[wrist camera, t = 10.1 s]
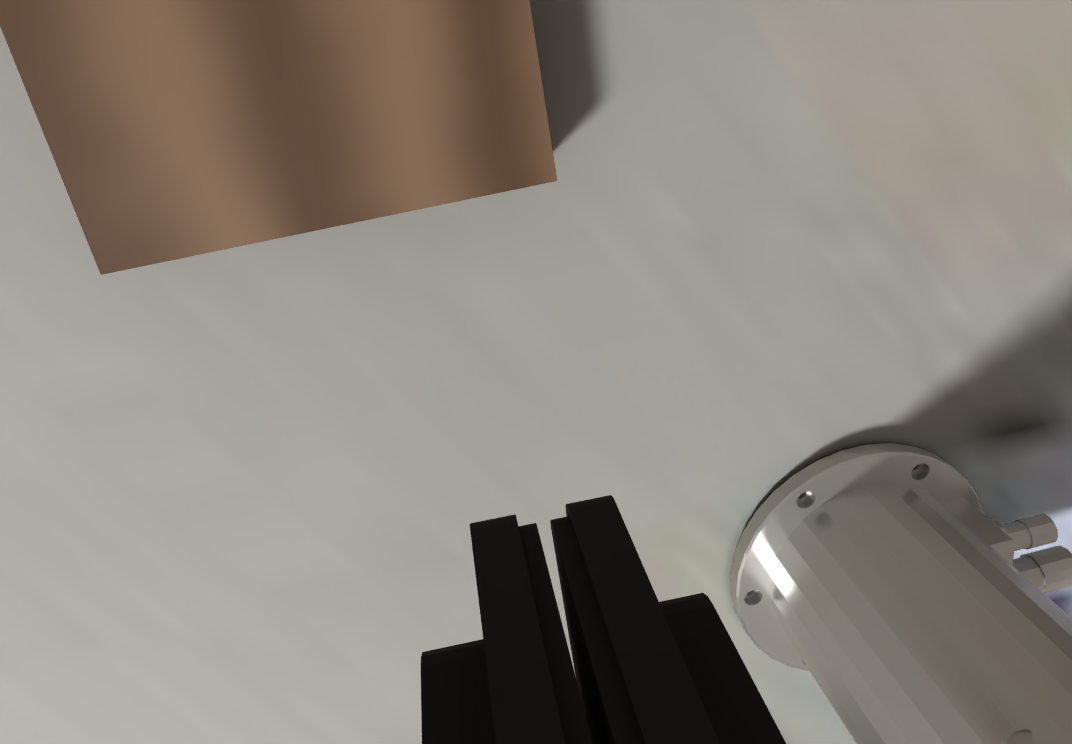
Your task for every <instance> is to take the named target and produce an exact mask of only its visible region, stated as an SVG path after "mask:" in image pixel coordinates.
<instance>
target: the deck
mask: <svg viewBox="0 0 1072 744" xmlns="http://www.w3.org/2000/svg"><path fill="white" fill-rule="evenodd" d="M0 27H1V29H2V32H3V34H4V36H5V39H6V41H7V44H8V46H9V49H10V51H11V54H12V56H13V59H14V61H15V64H16V66H17V69H18V71H19V73H20V76H21V78H22V81H23V83H24V86H25V88H26V91H27V93H28V96H29V98H30V101H31V103H32V106H33V108H34V111H35V113H36V115H37V118H38V120H39V123H40V125H41V128H42V130H43V133H44V135H45V138H46V140H47V143H48V145H49V148H50V150H51V153H52V155H53V157H54V160H55V162H56V165H57V167H58V170H59V172H60V175H61V177H62V180H63V182H64V185H65V187H66V190H67V192H68V195H69V197H70V199H71V202H72V204H73V207H74V209H75V212H76V214H77V217H78V219H79V222H80V224H81V227H82V229H83V232H84V234H85V237H86V239H87V241H88V244H89V246H90V249H91V251H92V254H93V256H94V259H95V261H96V264H97V266H98V269H99V271H100V274H101V275H102V274H107V273H111V272H116V271H121V270H126V269H131V268H136V267H141V266H145V265H150V264H155V263H160V262H165V261H170V260H175V259H179V258H184V257H189V256H194V255H199V254H204V253H209V252H213V251H218V250H223V249H228V248H233V247H238V246H243V245H247V244H252V243H257V242H262V241H267V240H272V239H277V238H281V237H286V236H291V235H296V234H301V233H306V232H311V231H315V230H320V229H325V228H330V227H335V226H340V225H345V224H349V223H354V222H359V221H364V220H369V219H374V218H379V217H383V216H388V215H393V214H398V213H403V212H408V211H413V210H417V209H422V208H427V207H432V206H437V205H442V204H447V203H451V202H456V201H461V200H466V199H471V198H476V197H481V196H485V195H490V194H495V193H500V192H505V191H510V190H515V189H519V188H524V187H529V186H534V185H539V184H544V183H549V182H553V181H557V176H556V170H555V163H554V157H553V150H552V144H551V137H550V131H549V124H548V118H547V111H546V105H545V98H544V92H543V85H542V78H541V72H540V65H539V59H538V52H537V46H536V39H535V33H534V26H533V20H532V13H531V7H530V0H0Z"/></svg>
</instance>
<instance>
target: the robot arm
mask: <svg viewBox="0 0 1072 744" xmlns="http://www.w3.org/2000/svg"><path fill="white" fill-rule="evenodd" d="M566 515H567V517H563V518H558V519H554V520H551V530H552V536H553V542H554V548H555V554H556V560H557V566H558V572H559V578H560V584H561V590H562V596H563V602H564V608H565V614H566V621H567V627H568V633H569V639H570V645H571V651H572V657H573V663H574V669H575V673H574V669H573V665H572V661H571V657H570V653H569V650H568V646H567V642H566V638H565V634H564V630H563V626H562V622H561V618H560V614H559V610H558V606H557V603H556V599H555V595H554V591H553V587H552V583H551V579H550V575H549V571H548V567H547V563H546V559H545V556H544V552H543V548H542V544H541V540H540V536H539V532H538V528H537V525H536V523H534V524H529V525H524V526H519V527H518V523H517V519H516V515H510V516H505V517H500V518H495V519H490V520H486V521H481V522H476V523H471V524H470V531H471V539H472V547H473V556H474V564H475V572H476V581H477V589H478V597H479V606H480V614H481V622H482V631H483V640H478V641H473V642H468V643H464V644H459V645H454V646H450V647H445V648H440V649H435V650H431V651H426V652H423V653H422V656H421V706H422V744H786V743H785V741H784V739H783V737H782V735H781V733H780V731H779V729H778V727H777V725H776V724H775V722H774V720H773V718H772V716H771V714H770V712H769V710H768V708H767V706H766V705H765V703H764V701H763V699H762V697H761V695H760V693H759V691H758V689H757V687H756V686H755V684H754V682H753V680H752V678H751V676H750V674H749V672H748V670H747V668H746V667H745V665H744V663H743V661H742V659H741V657H740V655H739V653H738V651H737V649H736V648H735V646H734V644H733V642H732V640H731V638H730V636H729V634H728V632H727V630H726V629H725V627H724V625H723V623H722V621H721V619H720V617H719V615H718V613H717V611H716V610H715V608H714V606H713V604H712V602H711V601H710V599H709V598H708V596H707V595H705V594H704V593H700V594H695V595H691V596H686V597H681V598H676V599H672V600H667V601H662V602H658V599H657V597H656V595H655V592H654V590H653V588H652V586H651V583H650V581H649V579H648V576H647V574H646V572H645V569H644V567H643V565H642V562H641V560H640V558H639V556H638V553H637V551H636V549H635V546H634V544H633V542H632V539H631V537H630V535H629V533H628V530H627V528H626V526H625V523H624V521H623V519H622V516H621V514H620V512H619V509H618V507H617V505H616V503H615V500H614V498H613V497H612V496H611V495H609V496H604V497H599V498H595V499H590V500H585V501H580V502H575V503H570V504H566ZM1057 538H1058V533H1057V528H1056V526H1055V524H1054V522H1053V521H1052V519H1051V518H1050V517H1049V516H1047V515H1045V514H1039V515H1035V516H1032V517H1028V518H1024V519H1020V520H1017V521H1014V523H1010V524H1006V525H1001V524H1000V523H998V522H994V521H991V520H990V519H988V518H987V517H986V516H985V515H984V514H983V510H982V507H981V504H980V502H979V499H978V496H977V494H976V492H975V491H974V489H973V488H972V486H971V485H970V483H969V482H968V481H967V479H966V478H965V477H964V476H962V475H961V474H960V473H959V472H958V471H957V470H956V469H954V468H953V467H952V466H951V465H950V464H949V463H947V462H946V461H944V460H943V459H941V458H940V457H938V456H936V455H935V454H933V453H931V452H929V451H926V450H923V449H920V448H917V447H914V446H909V445H901V444H893V443H884V444H869V445H863V446H859V447H854V448H850V449H846V450H842V451H839V452H837V453H834V454H832V455H830V456H827V457H825V458H822V459H820V460H818V461H816V462H814V463H812V464H811V465H809V466H807V467H806V468H804V469H803V470H801V471H799V472H798V473H796V474H794V475H793V476H792V477H791V478H789V479H788V480H787V481H786V482H785V483H783V484H782V485H781V486H780V487H779V488H777V489H776V490H775V491H774V492H773V493H772V494H771V495H770V496H769V497H768V498H767V499H766V501H765V502H764V503H763V504H762V505H761V506H760V507H759V509H758V510H757V511H756V512H755V514H754V515H753V517H752V518H751V520H750V522H749V523H748V525H747V526H746V528H745V530H744V531H743V533H742V535H741V538H740V540H739V543H738V545H737V548H736V550H735V552H734V556H733V561H732V567H731V572H730V595H731V599H732V602H733V606H734V610H735V613H736V615H737V617H738V619H739V620H740V622H741V624H742V626H743V628H744V630H745V632H746V633H747V634H748V636H749V637H750V638H751V640H752V641H753V642H754V644H755V645H756V646H757V647H758V648H759V649H760V650H762V651H763V652H764V653H766V654H767V655H768V656H769V657H771V658H772V659H774V660H777V661H779V662H781V663H783V664H785V665H787V666H790V667H794V668H798V669H802V670H807V671H810V672H811V674H812V676H813V677H814V679H815V680H816V682H817V683H818V685H819V686H820V688H821V690H822V691H823V693H824V694H825V696H826V697H827V699H828V700H829V702H830V703H831V705H832V707H833V708H834V710H835V711H836V713H837V714H838V716H839V717H840V719H841V720H842V722H843V724H844V725H845V727H846V728H847V730H848V731H849V733H850V734H851V736H852V737H853V739H854V741H855V742H856V744H1072V618H1070V617H1069V616H1068V615H1067V614H1066V613H1065V612H1064V611H1063V610H1062V609H1060V608H1059V607H1058V606H1057V605H1056V604H1055V603H1054V602H1053V601H1051V600H1050V599H1049V598H1048V597H1047V596H1046V595H1045V594H1044V593H1048V592H1052V591H1056V590H1059V589H1063V588H1067V587H1071V586H1072V554H1071V553H1070V551H1069V550H1068V549H1066V548H1064V547H1062V546H1054V547H1050V548H1046V549H1042V550H1039V551H1035V552H1031V553H1027V554H1023V555H1021V556H1020V558H1017V559H1013V556H1014V551H1017V550H1020V549H1024V548H1025V549H1030V548H1034V547H1038V546H1042V545H1045V544H1049V543H1053V542H1056V540H1057ZM575 675H576V677H575Z"/></svg>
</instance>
